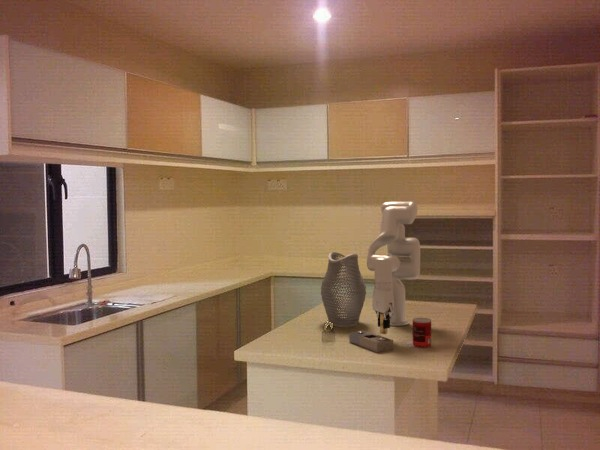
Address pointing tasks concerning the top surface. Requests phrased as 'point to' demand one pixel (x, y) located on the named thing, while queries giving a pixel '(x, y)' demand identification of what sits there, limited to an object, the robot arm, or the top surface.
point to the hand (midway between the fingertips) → (383, 326)
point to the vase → (357, 285)
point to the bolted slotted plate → (371, 341)
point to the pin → (382, 330)
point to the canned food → (422, 332)
